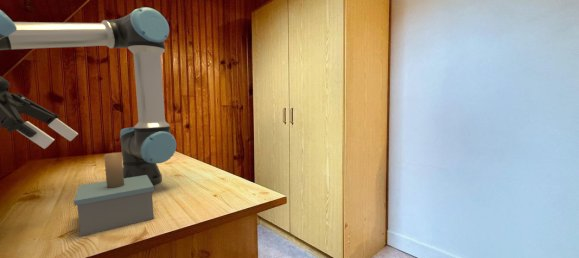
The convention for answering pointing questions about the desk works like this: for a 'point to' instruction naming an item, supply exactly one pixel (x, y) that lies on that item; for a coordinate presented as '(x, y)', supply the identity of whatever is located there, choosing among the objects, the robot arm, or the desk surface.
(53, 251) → the desk surface
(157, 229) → the desk surface
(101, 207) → the storage box
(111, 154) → the lid
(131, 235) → the desk surface
